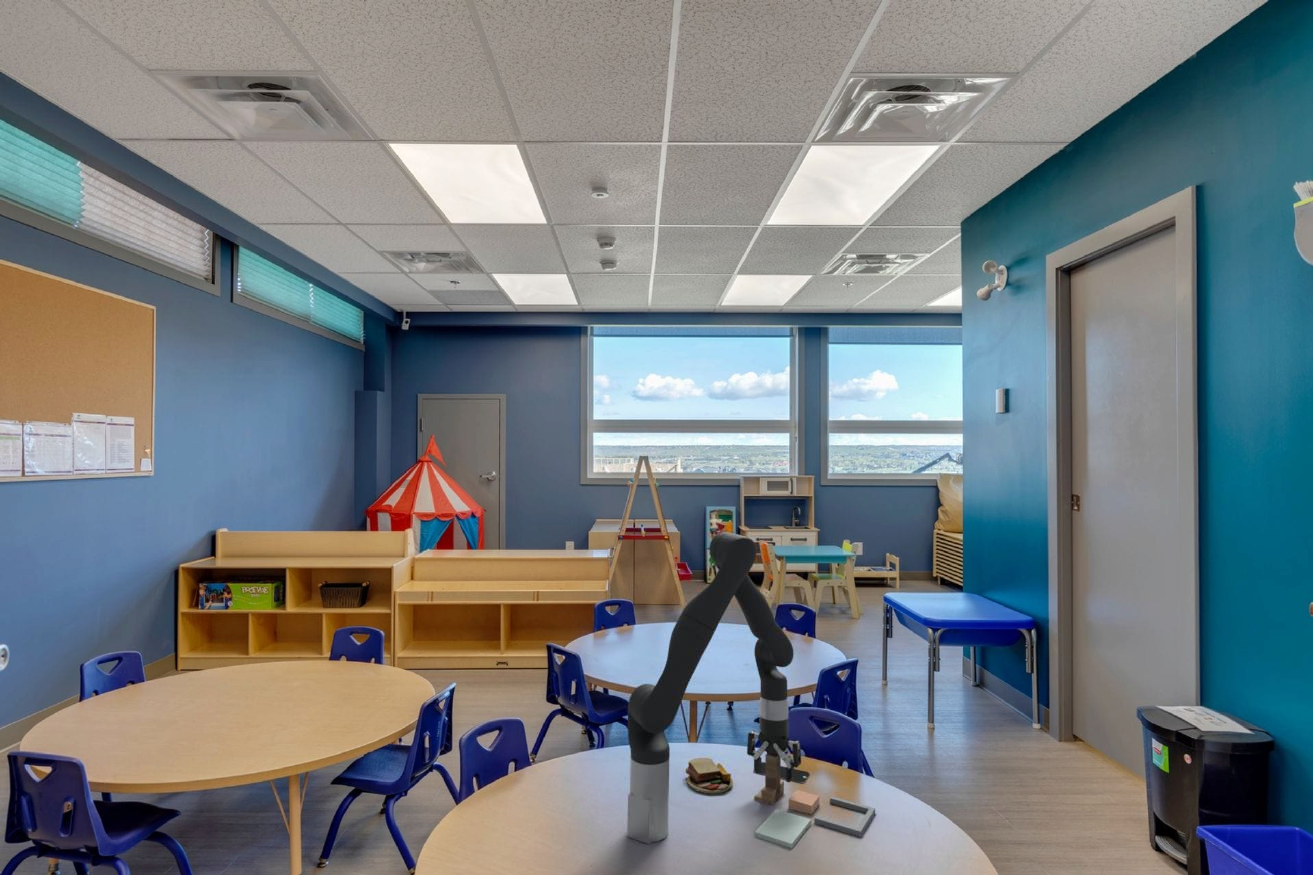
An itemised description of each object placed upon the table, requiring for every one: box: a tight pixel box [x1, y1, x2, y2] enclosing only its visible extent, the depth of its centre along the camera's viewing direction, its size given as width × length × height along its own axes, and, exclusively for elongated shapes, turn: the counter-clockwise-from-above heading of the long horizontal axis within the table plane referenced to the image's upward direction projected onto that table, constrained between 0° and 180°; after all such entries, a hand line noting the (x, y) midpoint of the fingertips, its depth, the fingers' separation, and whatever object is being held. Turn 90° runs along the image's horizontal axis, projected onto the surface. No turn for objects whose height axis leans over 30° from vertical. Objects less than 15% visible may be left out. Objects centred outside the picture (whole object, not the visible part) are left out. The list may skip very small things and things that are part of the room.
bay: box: [813, 795, 876, 838], centre depth 165 cm, size 13×11×1 cm
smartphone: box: [753, 761, 811, 784], centre depth 190 cm, size 8×1×15 cm
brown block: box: [753, 752, 785, 806], centre depth 176 cm, size 8×5×11 cm, turn 148°
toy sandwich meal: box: [685, 757, 734, 795], centre depth 183 cm, size 12×14×5 cm
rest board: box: [754, 808, 812, 849], centre depth 159 cm, size 13×9×1 cm
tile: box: [788, 789, 820, 815], centre depth 171 cm, size 6×6×2 cm
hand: (773, 776), depth 175 cm, fingers open, 8 cm apart
